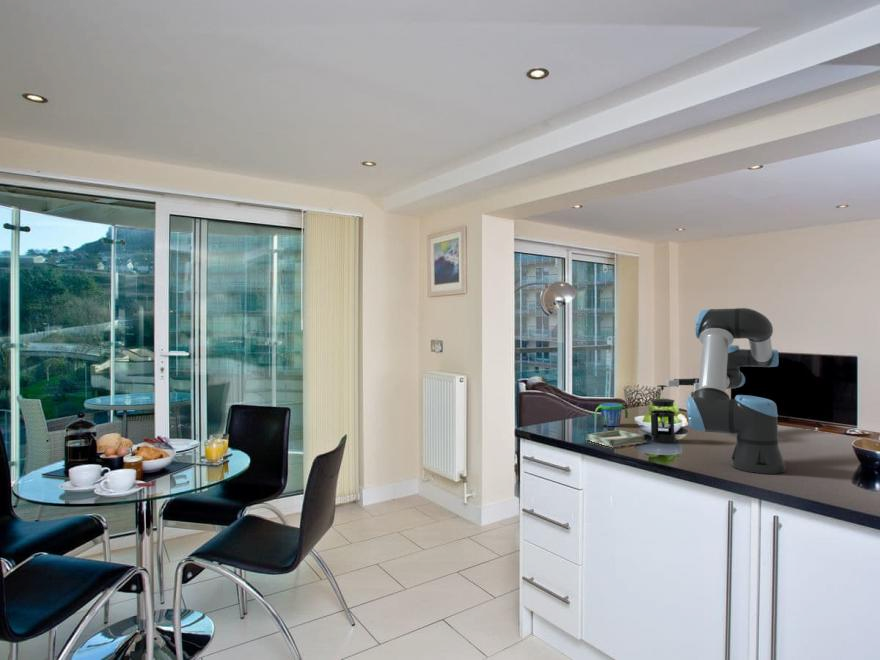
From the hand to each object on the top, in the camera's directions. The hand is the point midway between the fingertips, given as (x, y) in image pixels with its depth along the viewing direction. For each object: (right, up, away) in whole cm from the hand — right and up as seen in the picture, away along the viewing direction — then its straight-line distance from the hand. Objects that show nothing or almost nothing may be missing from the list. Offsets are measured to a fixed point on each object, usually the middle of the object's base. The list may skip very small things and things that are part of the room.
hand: (680, 385), depth 216 cm
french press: (-10, -23, -6) cm, 25 cm away
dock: (-30, -23, -6) cm, 38 cm away
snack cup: (-19, -23, +30) cm, 42 cm away
